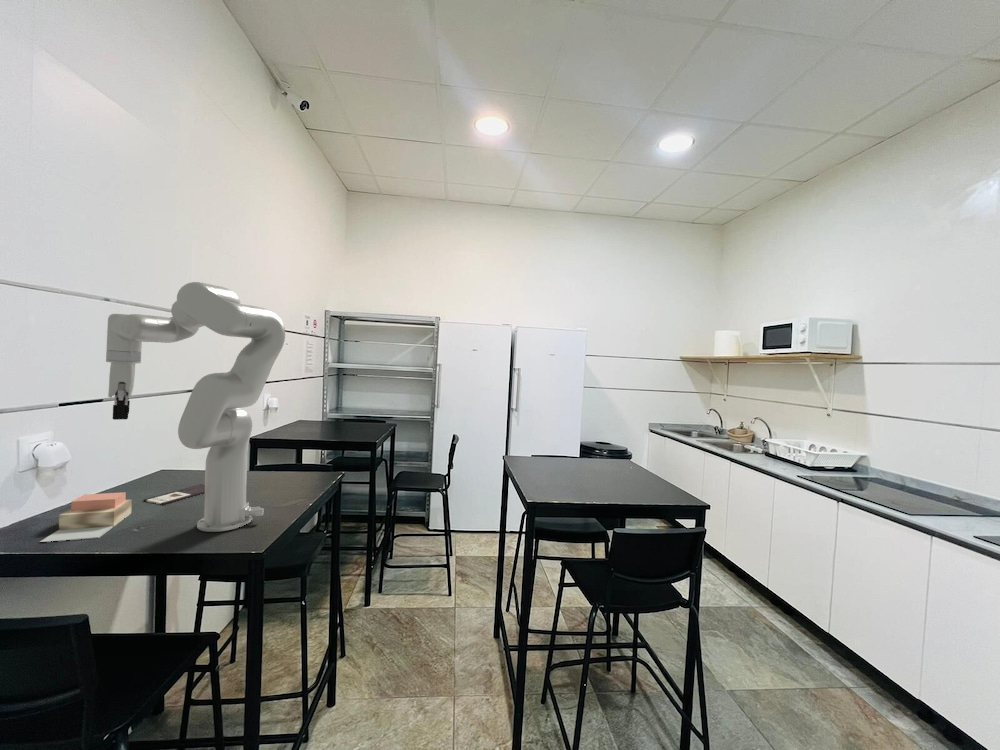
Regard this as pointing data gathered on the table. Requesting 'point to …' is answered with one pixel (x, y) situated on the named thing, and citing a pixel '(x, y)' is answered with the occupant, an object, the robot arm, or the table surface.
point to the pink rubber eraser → (98, 501)
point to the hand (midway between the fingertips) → (121, 416)
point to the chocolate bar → (177, 495)
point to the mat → (77, 534)
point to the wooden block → (94, 517)
